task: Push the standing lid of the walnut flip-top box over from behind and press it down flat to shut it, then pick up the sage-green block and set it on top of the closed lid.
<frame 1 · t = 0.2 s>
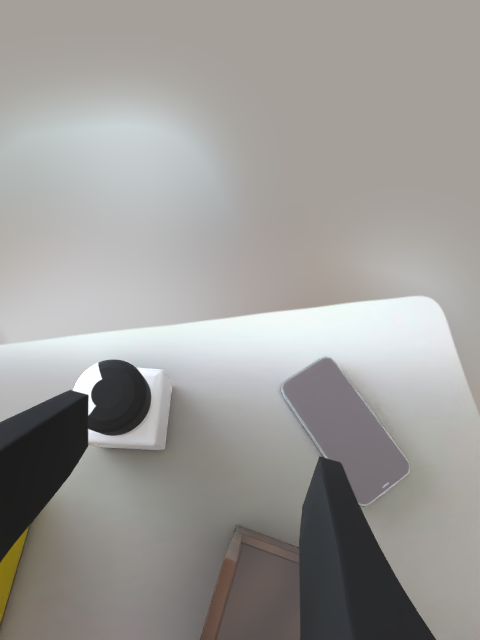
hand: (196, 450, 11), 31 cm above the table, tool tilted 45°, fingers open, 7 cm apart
medicine bottle: (137, 415, 42), on the table
box: (274, 632, 35), on the table
smartphone: (341, 427, 42), on the table
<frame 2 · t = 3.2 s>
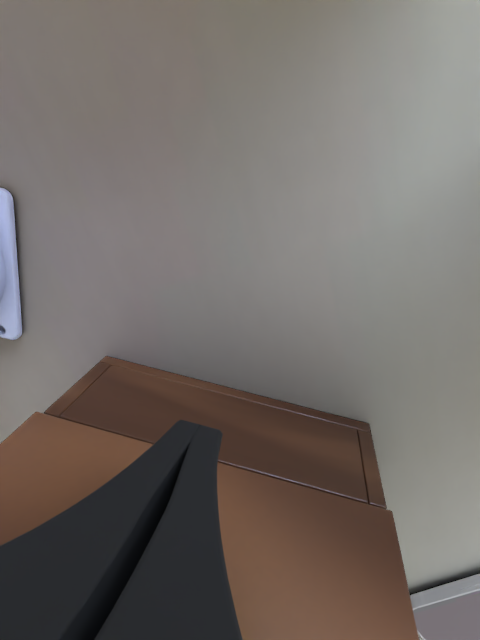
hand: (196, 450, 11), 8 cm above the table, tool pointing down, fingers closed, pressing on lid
box: (215, 474, 22), on the table
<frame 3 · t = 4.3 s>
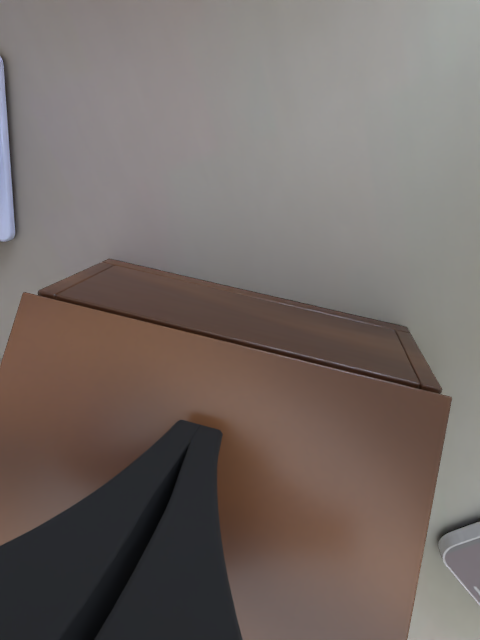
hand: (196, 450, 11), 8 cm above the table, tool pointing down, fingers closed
lid: (175, 545, 12), point 9 cm above the table, hinge at 29.7°
box: (230, 398, 20), on the table
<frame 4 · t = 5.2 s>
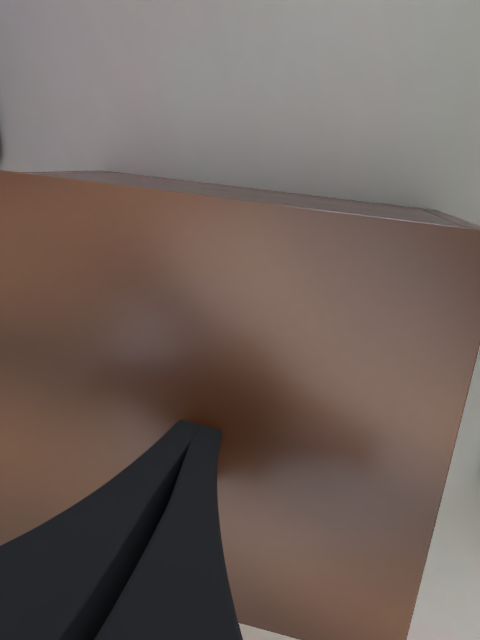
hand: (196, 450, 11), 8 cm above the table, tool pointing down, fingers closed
lid: (203, 416, 12), point 7 cm above the table, hinge at 14.3°
box: (244, 322, 18), on the table
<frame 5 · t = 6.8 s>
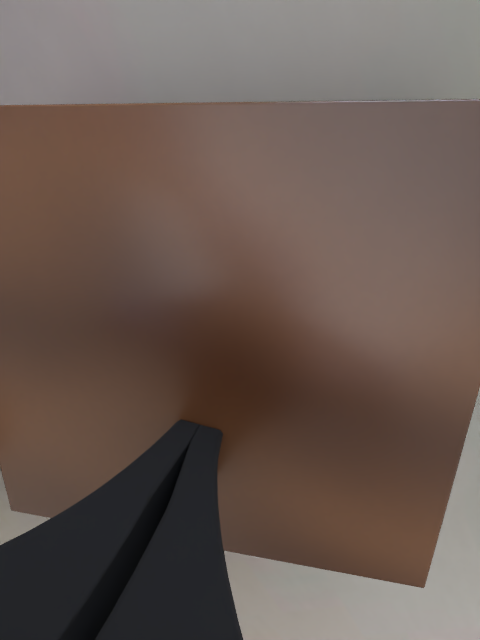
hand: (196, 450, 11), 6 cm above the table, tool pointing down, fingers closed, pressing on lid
lid: (197, 367, 11), point 6 cm above the table, hinge at 2.2°, touching gripper
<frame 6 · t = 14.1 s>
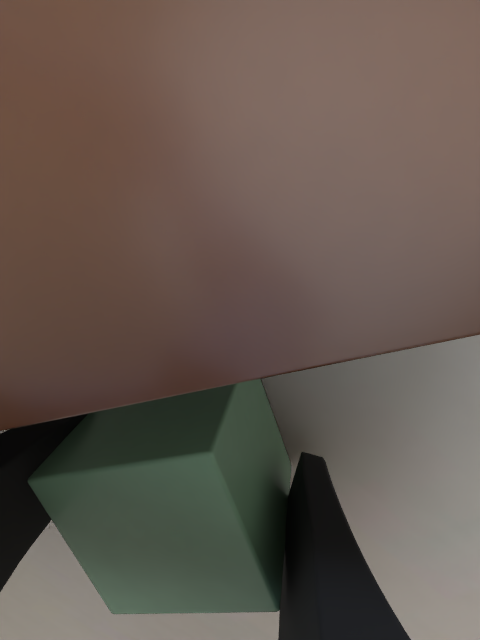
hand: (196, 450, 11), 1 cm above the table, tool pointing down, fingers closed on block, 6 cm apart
block: (207, 421, 13), on the table, touching gripper
when the fingers open (8 cm above the table, at t = 18.0 s): block stays where it is, resting on lid.
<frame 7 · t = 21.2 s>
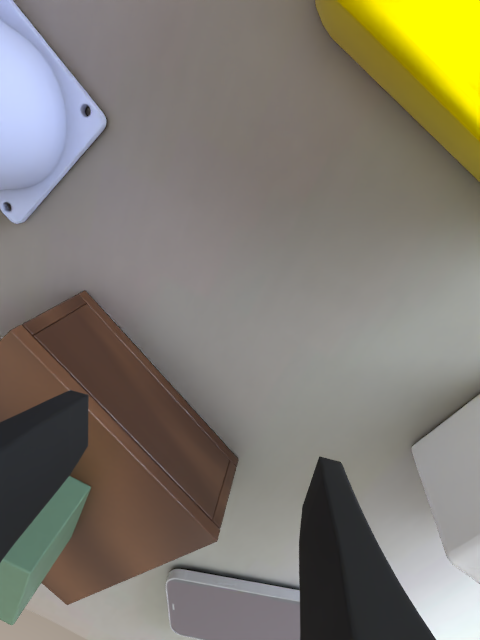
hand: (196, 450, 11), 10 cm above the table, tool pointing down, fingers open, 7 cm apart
lid: (48, 488, 21), point 6 cm above the table, hinge at -0.2°, touching block
box: (104, 422, 26), on the table
smartphone: (261, 609, 30), on the table
block: (43, 493, 20), point 6 cm above the table, touching lid
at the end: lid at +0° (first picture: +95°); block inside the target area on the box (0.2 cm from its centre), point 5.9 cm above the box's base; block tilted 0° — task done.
